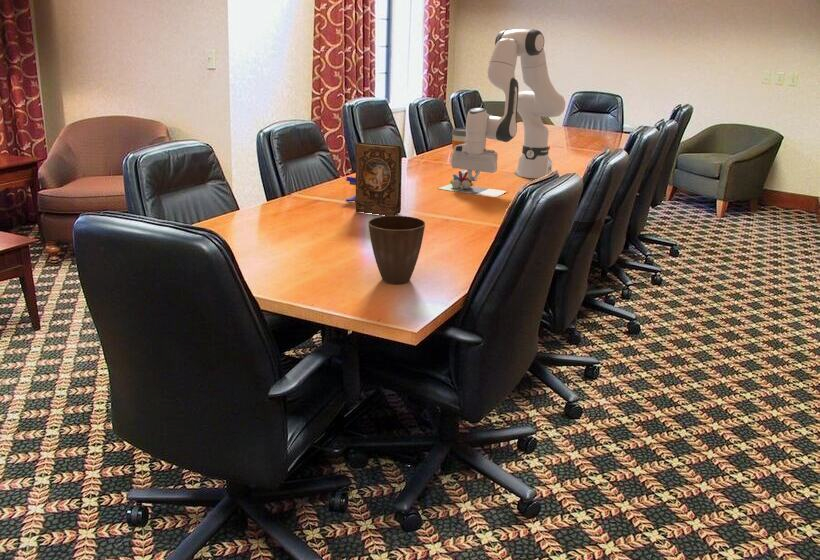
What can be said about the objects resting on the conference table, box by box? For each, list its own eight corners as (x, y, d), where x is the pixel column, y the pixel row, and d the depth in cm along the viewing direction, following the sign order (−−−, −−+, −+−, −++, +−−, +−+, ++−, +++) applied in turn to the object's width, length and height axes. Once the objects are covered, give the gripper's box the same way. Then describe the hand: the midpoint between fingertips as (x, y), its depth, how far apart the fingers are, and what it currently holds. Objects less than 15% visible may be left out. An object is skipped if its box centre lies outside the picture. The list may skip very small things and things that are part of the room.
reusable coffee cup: (447, 156, 378) (448, 128, 373) (468, 155, 382) (470, 127, 377) (455, 160, 367) (457, 131, 362) (477, 159, 370) (479, 130, 365)
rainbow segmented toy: (471, 190, 295) (472, 173, 293) (449, 189, 297) (449, 172, 294) (473, 186, 303) (474, 170, 301) (451, 185, 304) (451, 168, 302)
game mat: (452, 183, 309) (452, 183, 309) (508, 191, 296) (508, 191, 296) (437, 189, 298) (437, 188, 297) (495, 197, 285) (495, 197, 285)
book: (353, 212, 255) (353, 144, 246) (359, 209, 260) (359, 142, 251) (395, 217, 250) (397, 147, 241) (400, 214, 255) (402, 145, 246)
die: (460, 181, 315) (460, 170, 313) (471, 181, 314) (471, 170, 313) (458, 183, 310) (459, 172, 309) (469, 184, 310) (470, 172, 308)
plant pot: (358, 284, 183) (358, 225, 178) (380, 267, 197) (381, 212, 191) (411, 292, 178) (413, 232, 173) (430, 275, 192) (432, 219, 186)
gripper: (500, 149, 288) (498, 182, 293) (457, 144, 298) (455, 176, 303) (494, 151, 283) (492, 185, 288) (450, 146, 293) (448, 179, 298)
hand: (473, 180), depth 295 cm, fingers closed
